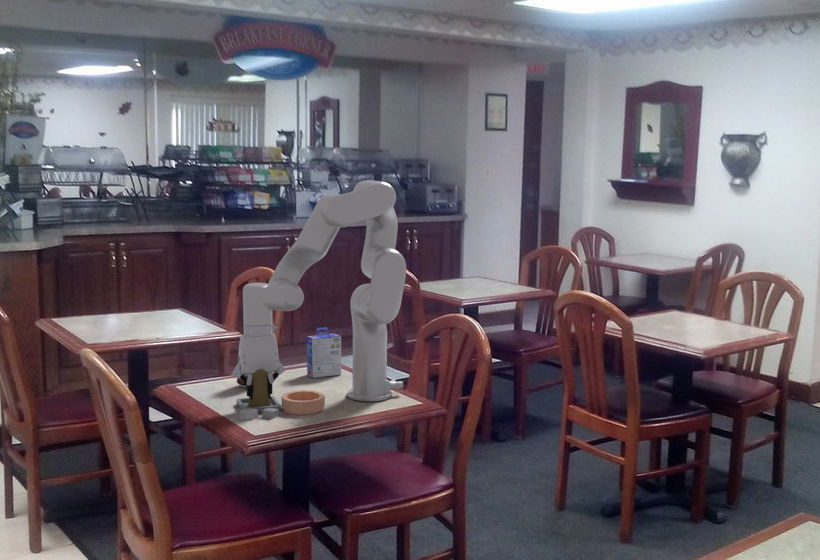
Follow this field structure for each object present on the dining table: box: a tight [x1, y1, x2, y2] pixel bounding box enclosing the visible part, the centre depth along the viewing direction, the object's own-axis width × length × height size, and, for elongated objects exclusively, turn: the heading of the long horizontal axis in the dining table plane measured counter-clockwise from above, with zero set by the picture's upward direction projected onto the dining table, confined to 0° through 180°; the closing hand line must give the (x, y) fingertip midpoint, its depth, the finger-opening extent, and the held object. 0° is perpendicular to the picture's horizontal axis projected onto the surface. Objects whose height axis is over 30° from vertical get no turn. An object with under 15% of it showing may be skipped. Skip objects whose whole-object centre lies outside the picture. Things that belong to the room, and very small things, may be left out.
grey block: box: [262, 408, 280, 419], centre depth 223 cm, size 3×3×2 cm
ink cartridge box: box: [305, 326, 342, 379], centre depth 265 cm, size 10×6×14 cm, turn 119°
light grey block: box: [239, 408, 259, 421], centre depth 221 cm, size 4×3×2 cm
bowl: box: [280, 389, 326, 416], centre depth 229 cm, size 11×11×4 cm
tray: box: [236, 395, 282, 414], centre depth 230 cm, size 10×10×2 cm
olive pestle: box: [248, 369, 271, 408], centre depth 229 cm, size 6×6×11 cm
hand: (259, 397), depth 230 cm, fingers closed on olive pestle, 3 cm apart
